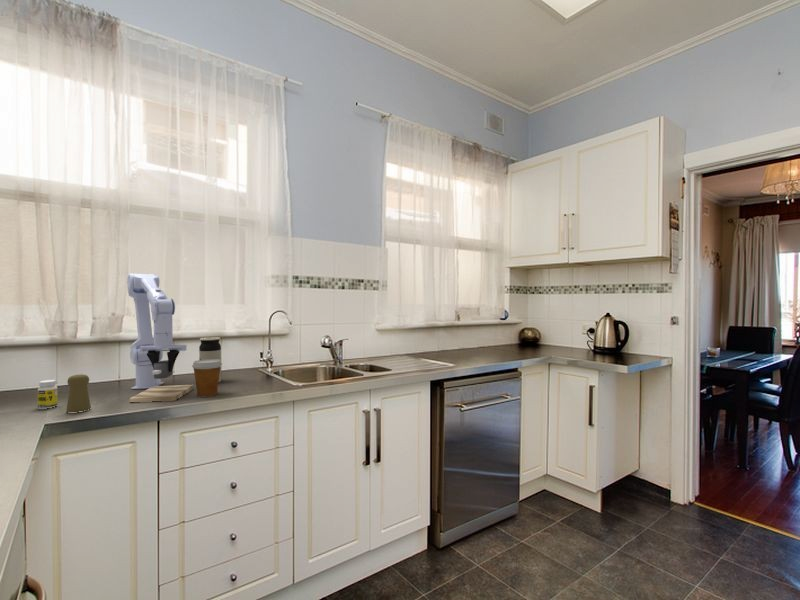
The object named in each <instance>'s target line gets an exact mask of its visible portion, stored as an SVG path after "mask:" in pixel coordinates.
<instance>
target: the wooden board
mask: <svg viewBox="0 0 800 600" xmlns="http://www.w3.org/2000/svg"><path fill="white" fill-rule="evenodd" d="M194 386H195V385H194V384H180V385H179V384H178V385H176V384H175V385H159V386H153V387H151V388H146V390H143V391H141V392H140V393H138V394H135V395H134V396H131V397H130V398H129V403H130V402H140V403H153V402H152V401H162V402H175V401H174V400H176V401H177V399H178V398H179V399H181V398H183V395H184V396H185V395H186V393H187V394H188V393H190V392H191V391H193V390H194ZM180 397H181V398H180ZM179 399H178V400H179Z"/></svg>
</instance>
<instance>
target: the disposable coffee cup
mask: <svg viewBox="0 0 800 600" xmlns="http://www.w3.org/2000/svg"><path fill="white" fill-rule="evenodd" d="M222 363H223V362H222V360H221V361H220V360H218V359H206V360H199V359H198V360H194V361H193V364H192V365H191V367H192V369H193V371H194V374H193V375H194V380H195V388H196V394H197V397H199V396H208V397H213V395H214V396H216V395H218V389H219V383H220V382H219V375H220V367H221V368H222V365H223V364H222Z"/></svg>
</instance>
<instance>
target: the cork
mask: <svg viewBox="0 0 800 600" xmlns="http://www.w3.org/2000/svg"><path fill="white" fill-rule="evenodd" d="M89 382H90V377H89V375H87V374H81V373H80V374H74V375H70V376H69V377H68V379H67V385H68V386H69V390H68V391H69V392H68V398H67V404H66V412H79V411H84V410H88V409H90V408H91V409H92V406H91V401H90V395H89V389H88V384H89ZM66 412H65V413H66Z"/></svg>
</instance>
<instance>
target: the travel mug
mask: <svg viewBox="0 0 800 600" xmlns="http://www.w3.org/2000/svg"><path fill="white" fill-rule="evenodd" d="M220 340H221V337H217V336H214V337H213V336H212V337H211V336H210V337H200V338H199V341H200V345H199V348H198V352H199V357H198V358H199V359H198V360H206V359H218V360H220V361H221V362H222V345H221V343H220ZM221 381H222V366H221V367H220V375H219V383H220V382H221Z"/></svg>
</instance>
